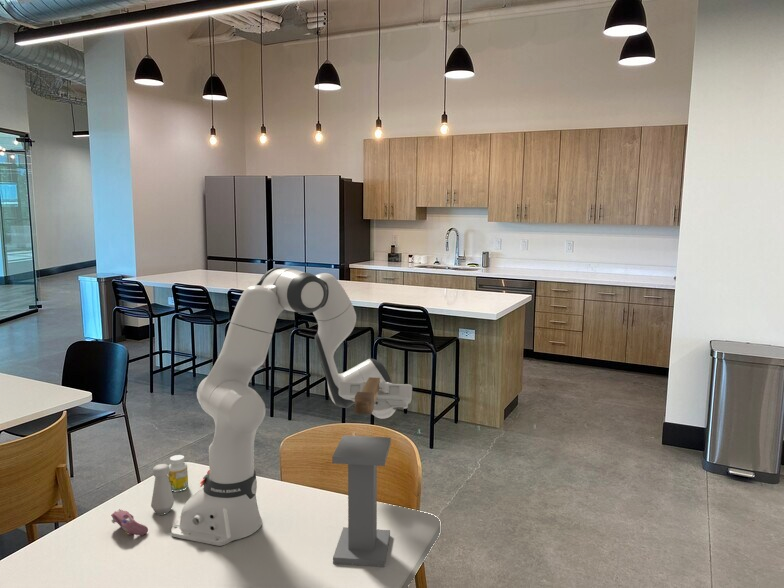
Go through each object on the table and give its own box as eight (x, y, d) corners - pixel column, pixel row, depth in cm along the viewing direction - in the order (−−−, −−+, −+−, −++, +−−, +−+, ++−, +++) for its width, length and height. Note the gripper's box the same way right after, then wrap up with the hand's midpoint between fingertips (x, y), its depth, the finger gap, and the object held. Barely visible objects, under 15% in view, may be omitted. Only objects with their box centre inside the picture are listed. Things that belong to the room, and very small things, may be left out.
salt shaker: (166, 517, 151) (163, 471, 150) (147, 515, 153) (144, 469, 151) (178, 506, 157) (176, 462, 155) (160, 504, 158) (157, 460, 156)
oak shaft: (354, 413, 134) (354, 397, 133) (367, 388, 153) (367, 373, 153) (371, 414, 133) (371, 397, 133) (381, 388, 153) (381, 374, 152)
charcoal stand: (333, 563, 132) (332, 457, 128) (343, 532, 145) (343, 435, 141) (384, 566, 131) (384, 459, 127) (390, 535, 144) (390, 437, 140)
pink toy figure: (118, 531, 148) (104, 513, 145) (133, 517, 150) (120, 499, 147) (135, 545, 141) (121, 527, 138) (150, 531, 144) (137, 513, 141)
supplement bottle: (190, 489, 167) (189, 458, 166) (171, 494, 164) (170, 463, 163) (185, 482, 172) (183, 452, 170) (166, 487, 168) (165, 456, 167)
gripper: (343, 384, 164) (334, 372, 151) (414, 386, 162) (411, 374, 149) (341, 406, 162) (332, 395, 149) (413, 408, 160) (410, 398, 147)
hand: (372, 385), depth 149 cm, fingers closed on oak shaft, 3 cm apart
